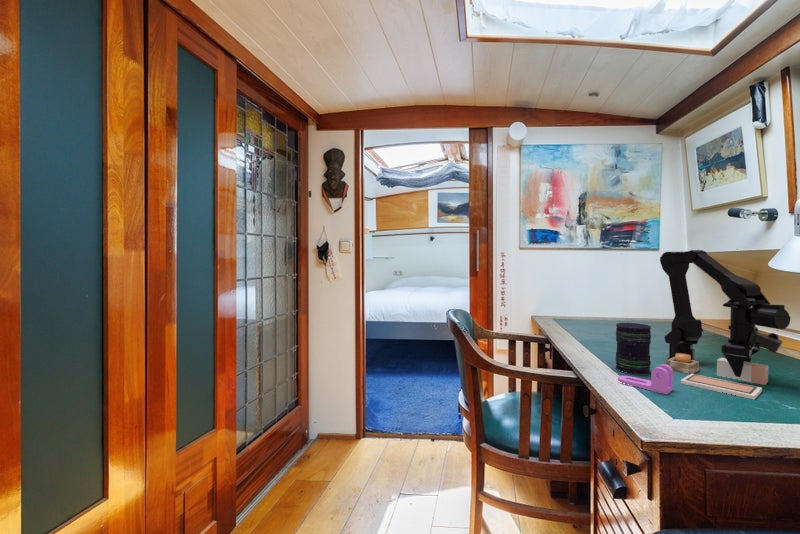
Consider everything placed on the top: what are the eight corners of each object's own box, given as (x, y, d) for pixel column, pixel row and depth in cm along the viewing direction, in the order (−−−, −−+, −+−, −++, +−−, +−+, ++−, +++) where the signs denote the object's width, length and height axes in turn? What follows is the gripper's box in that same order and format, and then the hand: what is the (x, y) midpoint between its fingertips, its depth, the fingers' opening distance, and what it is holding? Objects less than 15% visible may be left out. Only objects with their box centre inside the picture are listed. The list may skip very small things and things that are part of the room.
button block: (666, 369, 124) (666, 360, 124) (673, 365, 129) (673, 356, 129) (692, 374, 119) (692, 365, 119) (699, 370, 123) (699, 361, 123)
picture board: (680, 383, 111) (680, 379, 110) (691, 376, 117) (691, 372, 117) (754, 399, 98) (754, 395, 98) (762, 391, 104) (762, 386, 104)
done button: (673, 363, 124) (673, 354, 124) (677, 361, 126) (677, 352, 126) (688, 366, 121) (688, 357, 121) (692, 364, 123) (692, 355, 123)
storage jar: (644, 377, 116) (645, 329, 116) (610, 370, 124) (611, 325, 123) (654, 370, 123) (655, 325, 123) (621, 364, 130) (622, 321, 130)
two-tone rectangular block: (716, 375, 118) (716, 359, 118) (720, 372, 121) (720, 357, 120) (765, 385, 109) (765, 368, 109) (767, 381, 112) (768, 365, 112)
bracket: (672, 390, 105) (673, 365, 105) (666, 395, 102) (667, 369, 102) (622, 379, 115) (622, 356, 115) (615, 383, 112) (615, 359, 112)
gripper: (774, 331, 102) (772, 387, 103) (785, 323, 114) (784, 374, 114) (721, 325, 111) (720, 377, 112) (736, 318, 123) (735, 366, 123)
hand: (741, 373), depth 115 cm, fingers open, 9 cm apart
